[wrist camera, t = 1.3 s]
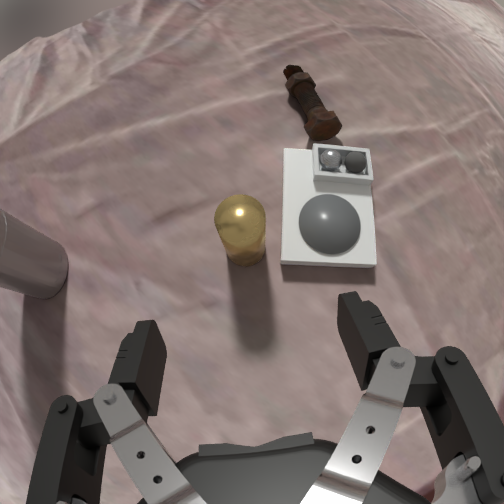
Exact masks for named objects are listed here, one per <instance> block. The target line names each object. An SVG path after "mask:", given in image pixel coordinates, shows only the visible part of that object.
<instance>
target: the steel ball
mask: <svg viewBox="0 0 504 504" xmlns="http://www.w3.org/2000/svg"><path fill="white" fill-rule="evenodd" d="M320 164H321V166H322V167H323V168H324V169H325V170H327V171H336V170H337V169H339V168H340V166H341V164H342V157H341V155H340V153H339V152H337V151H336V150H333V149H328V150H325V151H324V152H323V153H322V154H321V156H320Z"/></svg>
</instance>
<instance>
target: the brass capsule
mask: <svg viewBox="0 0 504 504" xmlns="http://www.w3.org/2000/svg"><path fill="white" fill-rule="evenodd" d="M265 220H266V218H265V211H264V208H263V206H262V205H261V204H260V202H259V201H257V200H256V199H255V198H253V197H251V196H248V195H234V196H231V197H228V198H227V199H225V200H224V201H223V202H221V204H220V205H219V206H218V208H217V210H216V212H215V217H214V221H215V226H216V228H217V231H218V233H219V236H220V238H221V240H222V243H223V245H224V248H225V250H226V252H227V255H228V257H229V258H230V260H231V261H232V262H234V263H235V264H237V265H240V266H251V265H254V264H256V263H257V262H258V261H260V260H261V258H262V257H263V255H264V252H265Z"/></svg>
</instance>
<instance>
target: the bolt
mask: <svg viewBox="0 0 504 504" xmlns="http://www.w3.org/2000/svg"><path fill="white" fill-rule="evenodd" d="M283 73H284V75H285V77H286V79H287V80H288V81H287V82H286V85H285V86H286V87H287V89H288V91H289V92H290V93H291V95H292V96H293V97H297V99H298V101H299V102H300V104H301V106H302V108H303V110H304V112H305V114H306V116H307V119H308V122H307V123H306V124H305V125H304V128H305V130H306V132H307V134H308V135H309V136H310V138H311V139H312V140H314V141H321V140H327V139H330V138H332V137H333V136H335V135H336V134H338V132H339V131H340V129H341V127H342V124H341V122H340V121H339V119H338V117H337V116H336V114H335V113H334V111H327V110H326V109H325V107H324V105H323V103H322V101H321V99H320V98H319V96H318V95H317V93H316V91H315V90H314V89H315V86H316V84H315V83H314V81H313V80H312V78H311V77H310V75H309V74H308V73H305V72H303V70H302V69H301V67H300V66H296V65H295V66H294V65H288V66H286V69H284V71H283Z"/></svg>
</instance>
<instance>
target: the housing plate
mask: <svg viewBox="0 0 504 504" xmlns="http://www.w3.org/2000/svg"><path fill="white" fill-rule="evenodd" d="M328 149H333V150H336V151H337V152H339V153H340V155H341V157H342V164H341V166H340V168H339V169H337V170H336V171H327V170H325V169H324V168H323V167H322V166H321V164H320V156H321V154H322V153H323V152H324V151H325V150H328ZM351 152H359V153H361V154H362V155H363V156H364V157H365V159H366V167H365V169H364V170H363V171H362V172H361V173H357V174H354V173H351V172H349V171H348V170H347V169H346V167H345V163H344V161H345V157H346V156H347V155H348V154H349V153H351ZM372 182H373V172H372V164H371V157H370V150H369V149H365V148H356V147H347V146H338V145H327V144H315V143H313V147H312V150H307V149H291V148H284V154H283V198H282V233H281V261H280V264H288V265H310V266H332V267H356V268H372V267H374V266H375V265H376V243H375V227H374V214H373V203H372V193H371V183H372Z"/></svg>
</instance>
